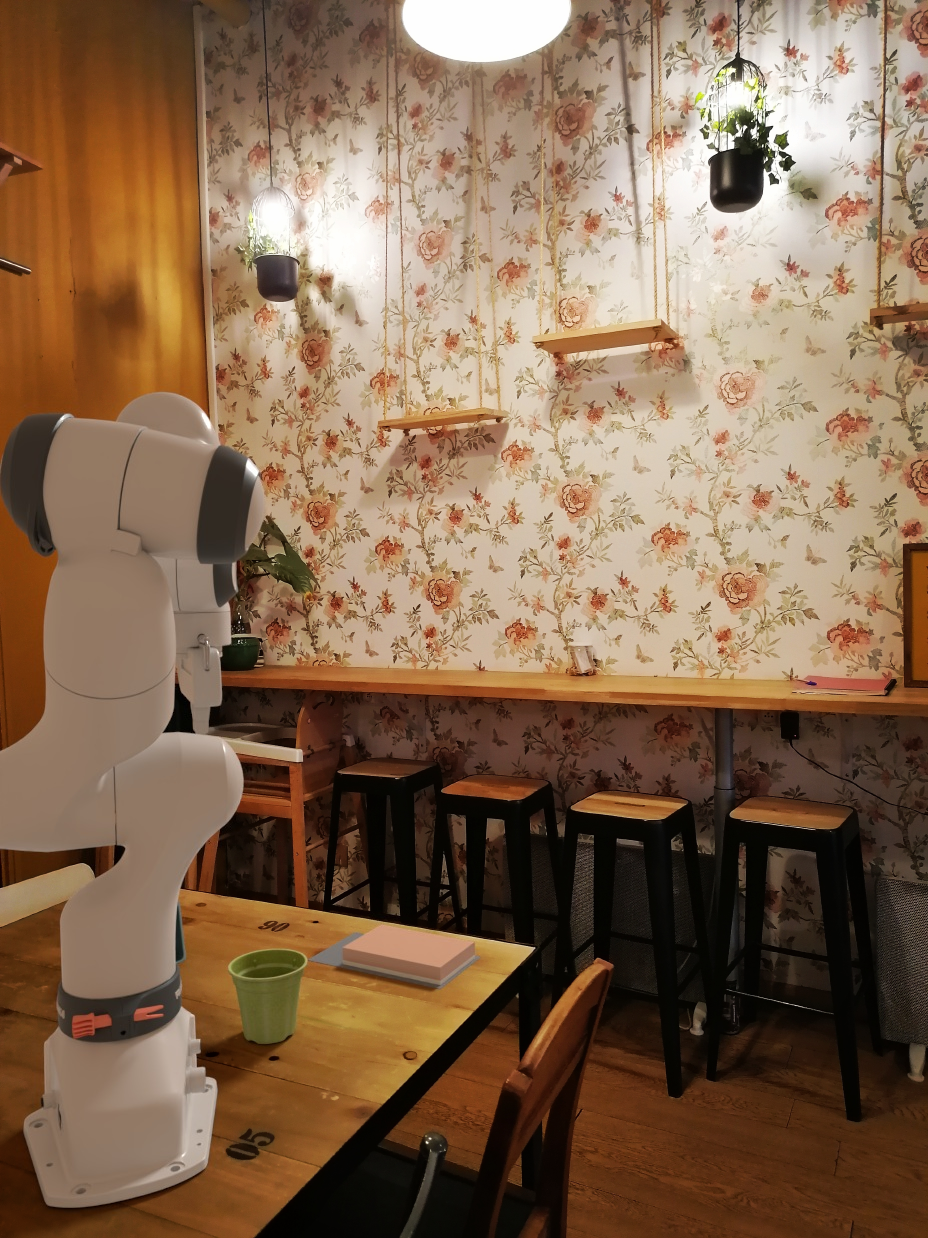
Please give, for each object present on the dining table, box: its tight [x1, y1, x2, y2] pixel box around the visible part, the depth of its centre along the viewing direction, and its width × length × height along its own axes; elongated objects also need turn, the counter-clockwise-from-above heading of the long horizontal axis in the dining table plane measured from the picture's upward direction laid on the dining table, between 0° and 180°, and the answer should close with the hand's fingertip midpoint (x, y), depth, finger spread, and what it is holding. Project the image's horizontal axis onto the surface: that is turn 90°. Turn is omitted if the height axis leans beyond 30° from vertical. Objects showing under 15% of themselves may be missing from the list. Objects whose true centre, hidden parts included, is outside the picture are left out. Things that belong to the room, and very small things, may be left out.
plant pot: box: [227, 948, 308, 1045], centre depth 113 cm, size 9×9×9 cm
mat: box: [307, 931, 482, 990], centre depth 134 cm, size 22×12×1 cm, turn 62°
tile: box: [342, 924, 476, 985], centre depth 133 cm, size 2×10×16 cm
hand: (200, 732), depth 130 cm, fingers closed
